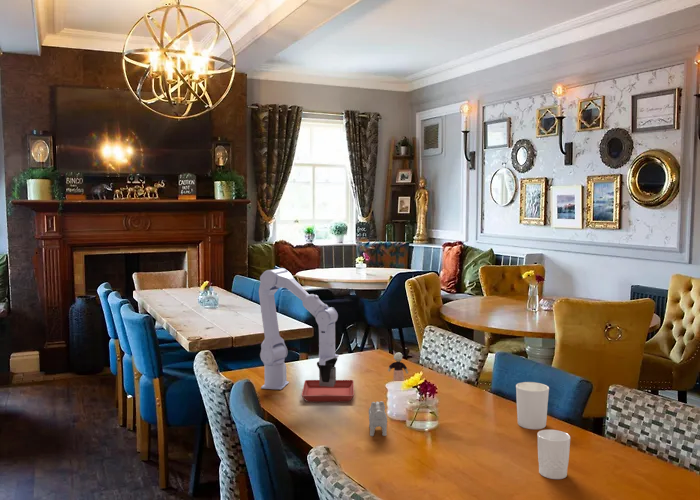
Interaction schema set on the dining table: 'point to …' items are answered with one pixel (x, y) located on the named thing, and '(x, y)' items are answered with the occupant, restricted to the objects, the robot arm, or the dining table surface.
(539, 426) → the candle holder
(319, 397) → the plant saucer
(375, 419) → the dog figurine
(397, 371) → the grandmother figurine
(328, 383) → the charcoal block
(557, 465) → the white cup
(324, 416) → the dining table surface
